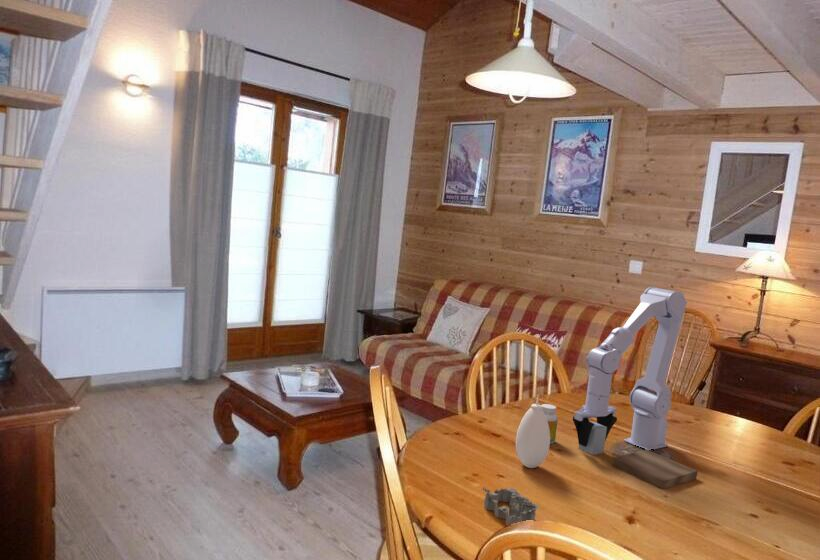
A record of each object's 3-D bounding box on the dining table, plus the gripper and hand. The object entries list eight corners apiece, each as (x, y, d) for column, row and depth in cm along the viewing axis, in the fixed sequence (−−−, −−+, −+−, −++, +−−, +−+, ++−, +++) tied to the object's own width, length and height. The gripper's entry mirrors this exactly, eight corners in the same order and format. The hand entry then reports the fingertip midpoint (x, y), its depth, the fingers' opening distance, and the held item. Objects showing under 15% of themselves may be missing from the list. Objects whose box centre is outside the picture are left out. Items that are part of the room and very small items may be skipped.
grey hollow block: (478, 505, 121) (480, 486, 121) (507, 499, 125) (509, 481, 124) (510, 531, 112) (512, 510, 111) (540, 524, 115) (543, 504, 115)
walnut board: (645, 456, 156) (646, 449, 155) (696, 478, 144) (697, 470, 144) (612, 465, 148) (613, 457, 148) (662, 489, 136) (664, 481, 136)
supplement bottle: (555, 445, 158) (559, 410, 157) (534, 442, 159) (539, 407, 158) (554, 438, 163) (558, 404, 162) (534, 435, 164) (538, 401, 163)
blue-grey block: (589, 446, 160) (592, 421, 159) (603, 452, 156) (607, 427, 155) (578, 448, 157) (581, 423, 157) (592, 455, 154) (595, 429, 153)
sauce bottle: (507, 460, 145) (515, 389, 143) (535, 458, 147) (543, 389, 146) (524, 474, 137) (532, 400, 136) (552, 472, 140) (561, 399, 138)
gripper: (603, 386, 163) (597, 434, 164) (567, 391, 154) (561, 441, 156) (625, 394, 157) (618, 443, 158) (589, 399, 149) (583, 451, 150)
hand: (591, 443), depth 157 cm, fingers open, 7 cm apart
